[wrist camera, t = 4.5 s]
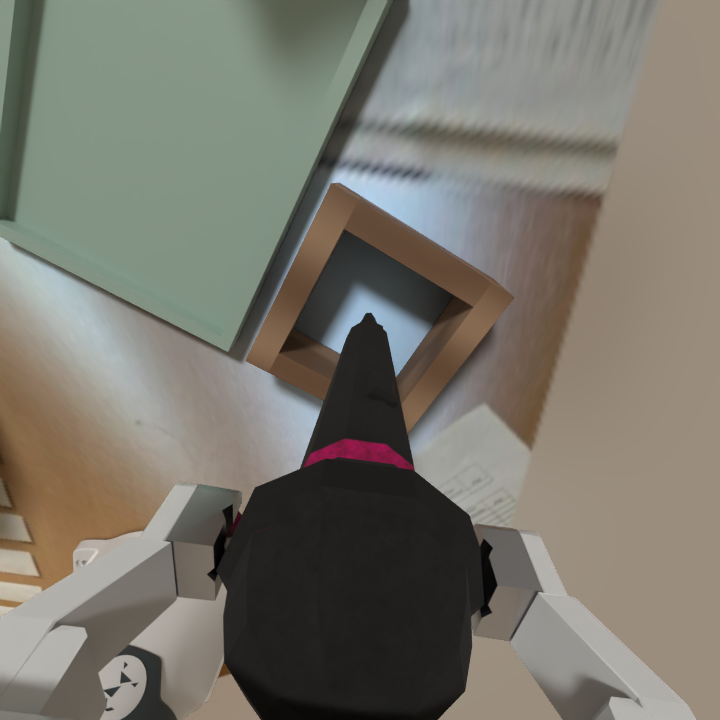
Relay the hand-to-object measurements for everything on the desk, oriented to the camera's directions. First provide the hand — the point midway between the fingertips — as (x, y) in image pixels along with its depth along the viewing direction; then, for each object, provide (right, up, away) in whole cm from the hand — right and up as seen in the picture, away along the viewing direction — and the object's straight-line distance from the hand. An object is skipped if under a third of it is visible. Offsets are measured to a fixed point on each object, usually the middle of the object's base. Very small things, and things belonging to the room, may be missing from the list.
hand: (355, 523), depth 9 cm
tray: (-10, +18, +11) cm, 23 cm away
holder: (+1, +8, +15) cm, 17 cm away
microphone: (+1, +7, +14) cm, 16 cm away
